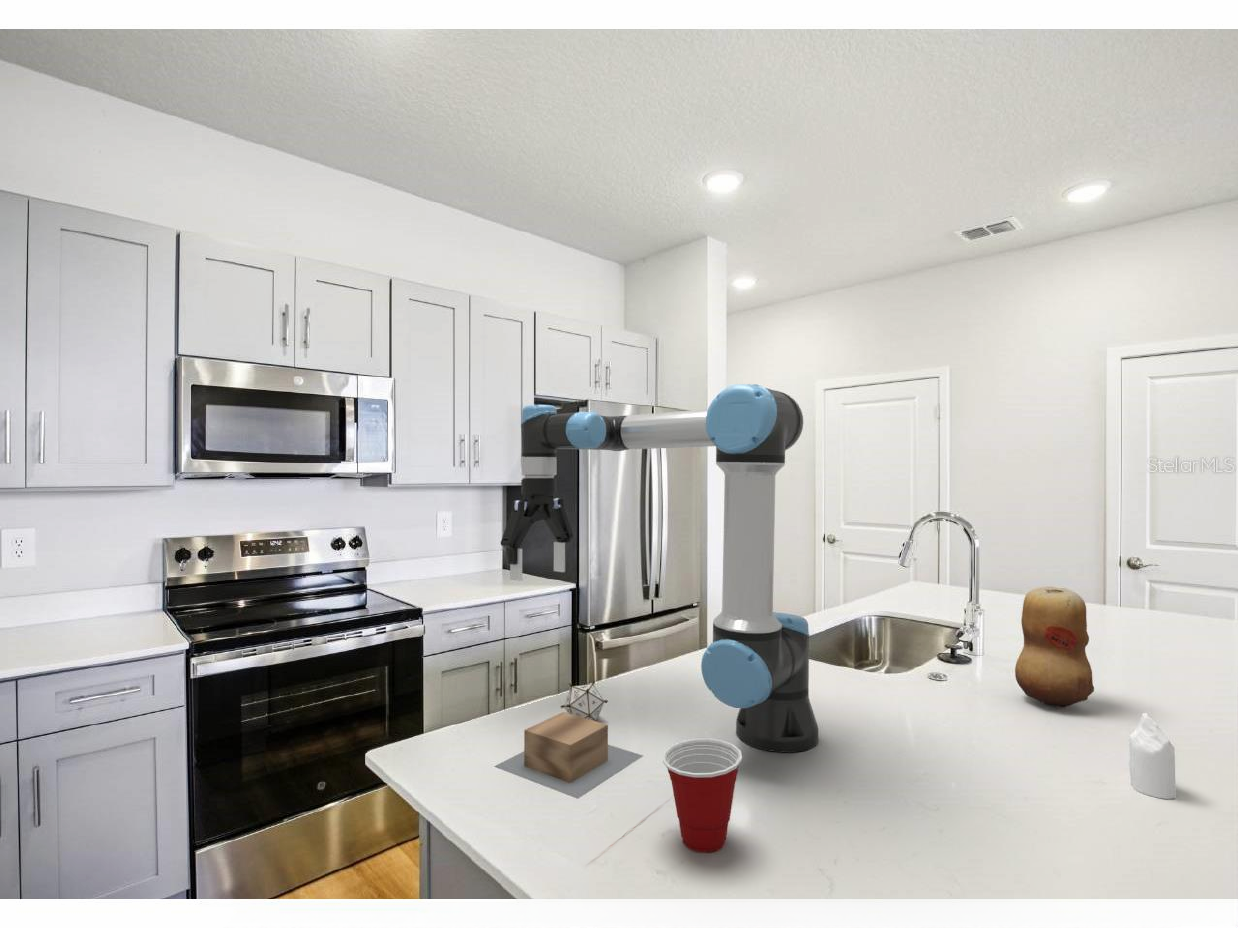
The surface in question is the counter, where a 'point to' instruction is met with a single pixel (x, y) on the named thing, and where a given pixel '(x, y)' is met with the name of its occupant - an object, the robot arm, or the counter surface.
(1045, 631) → the butternut squash
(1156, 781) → the white pouch
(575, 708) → the game die
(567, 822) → the counter surface
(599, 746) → the walnut block
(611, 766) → the build mat
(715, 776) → the plastic cup
